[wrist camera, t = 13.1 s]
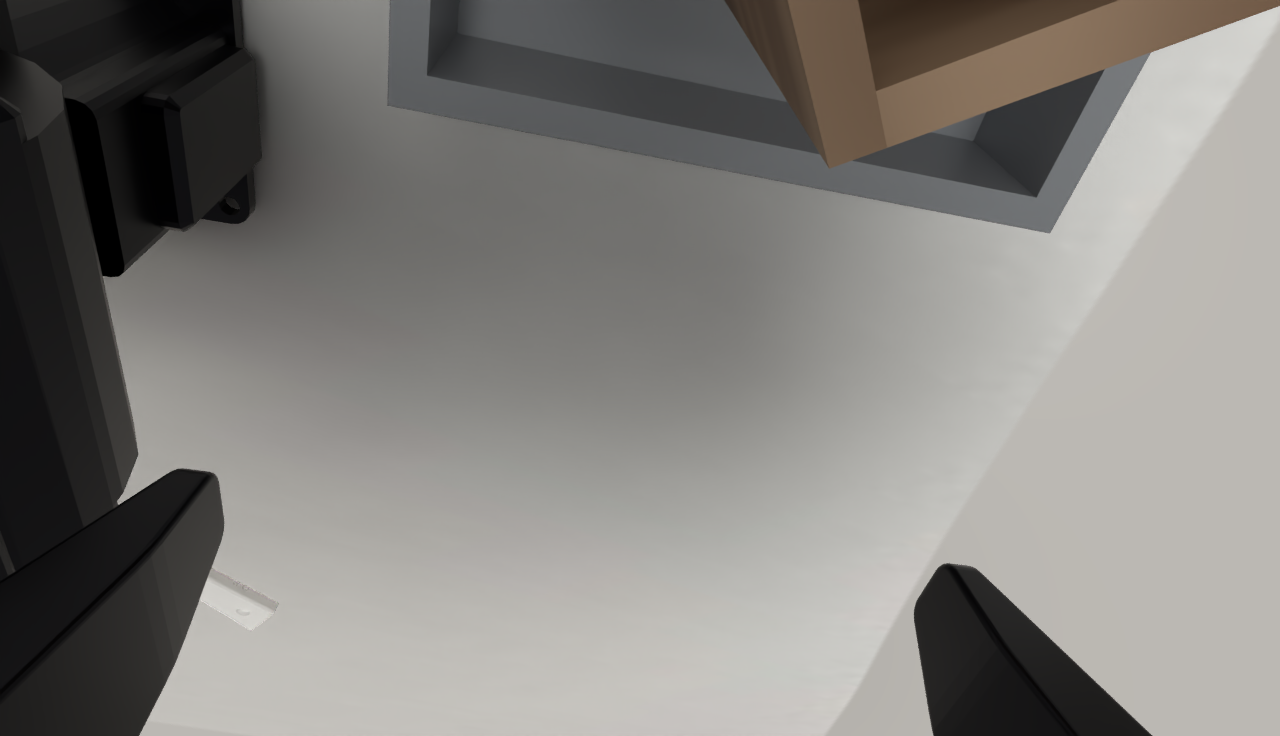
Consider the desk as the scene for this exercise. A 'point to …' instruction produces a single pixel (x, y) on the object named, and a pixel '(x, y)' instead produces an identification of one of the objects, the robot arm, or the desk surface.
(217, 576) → the white angle bracket
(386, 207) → the desk surface
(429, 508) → the desk surface
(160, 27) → the robot arm
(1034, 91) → the walnut crate
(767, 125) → the tray
